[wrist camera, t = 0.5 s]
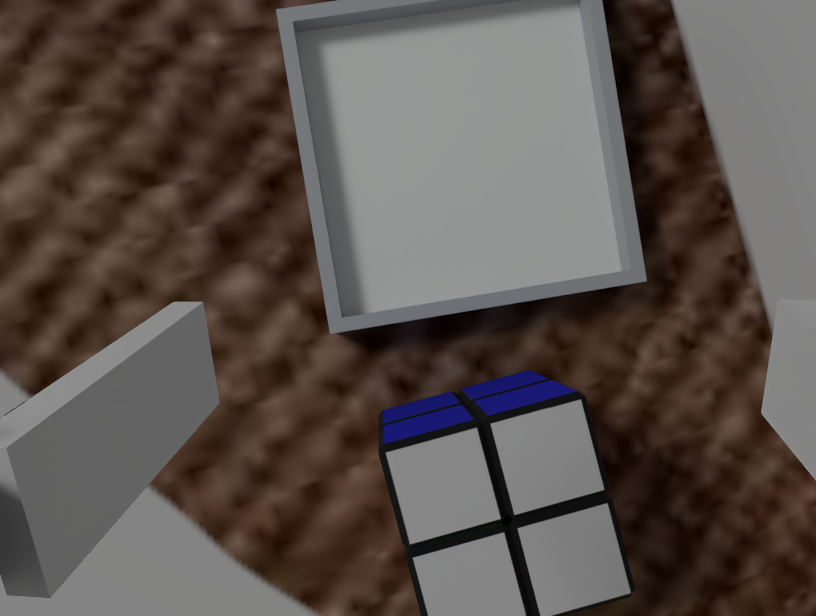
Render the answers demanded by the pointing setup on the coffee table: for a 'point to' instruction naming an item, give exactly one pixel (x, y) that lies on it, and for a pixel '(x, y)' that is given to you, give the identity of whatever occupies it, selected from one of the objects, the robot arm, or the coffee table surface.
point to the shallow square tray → (459, 154)
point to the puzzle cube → (503, 501)
